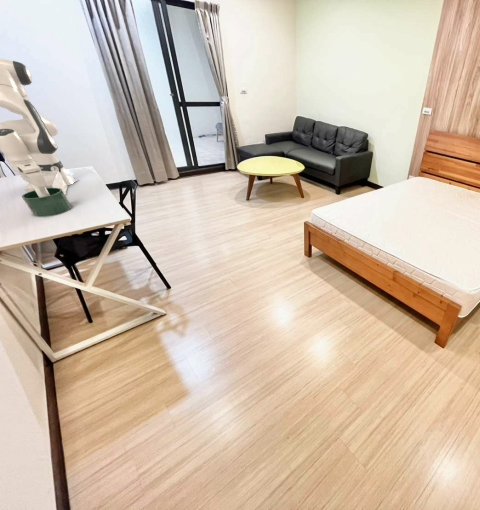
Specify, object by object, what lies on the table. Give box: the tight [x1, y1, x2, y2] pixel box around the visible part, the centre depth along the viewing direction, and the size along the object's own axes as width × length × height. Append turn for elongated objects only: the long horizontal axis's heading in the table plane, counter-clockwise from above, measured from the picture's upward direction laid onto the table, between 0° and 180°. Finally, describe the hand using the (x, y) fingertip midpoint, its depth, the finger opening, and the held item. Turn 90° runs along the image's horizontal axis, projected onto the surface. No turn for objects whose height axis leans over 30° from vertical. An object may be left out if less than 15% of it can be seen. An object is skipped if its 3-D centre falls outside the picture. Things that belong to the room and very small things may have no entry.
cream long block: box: [24, 170, 68, 195], centre depth 158 cm, size 32×11×11 cm, turn 36°
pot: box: [21, 188, 72, 218], centre depth 143 cm, size 15×15×10 cm
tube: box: [31, 184, 50, 198], centre depth 142 cm, size 4×4×15 cm
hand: (40, 191), depth 140 cm, fingers open, 8 cm apart
